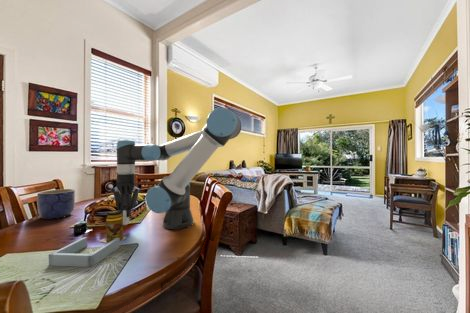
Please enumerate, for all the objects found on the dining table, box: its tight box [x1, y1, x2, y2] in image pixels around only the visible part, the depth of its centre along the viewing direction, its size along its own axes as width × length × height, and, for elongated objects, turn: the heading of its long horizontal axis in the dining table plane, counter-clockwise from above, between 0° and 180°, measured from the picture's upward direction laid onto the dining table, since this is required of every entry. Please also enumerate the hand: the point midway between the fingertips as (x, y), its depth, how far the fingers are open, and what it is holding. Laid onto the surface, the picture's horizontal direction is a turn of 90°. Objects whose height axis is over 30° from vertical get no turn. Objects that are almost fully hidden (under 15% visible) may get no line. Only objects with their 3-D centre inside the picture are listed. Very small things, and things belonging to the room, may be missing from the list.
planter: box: [36, 188, 76, 220], centre depth 120 cm, size 16×17×15 cm
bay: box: [48, 236, 121, 268], centre depth 72 cm, size 14×14×4 cm
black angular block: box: [65, 222, 94, 238], centre depth 94 cm, size 12×7×5 cm, turn 176°
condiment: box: [98, 209, 129, 244], centre depth 86 cm, size 7×8×12 cm
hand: (126, 223), depth 96 cm, fingers closed
